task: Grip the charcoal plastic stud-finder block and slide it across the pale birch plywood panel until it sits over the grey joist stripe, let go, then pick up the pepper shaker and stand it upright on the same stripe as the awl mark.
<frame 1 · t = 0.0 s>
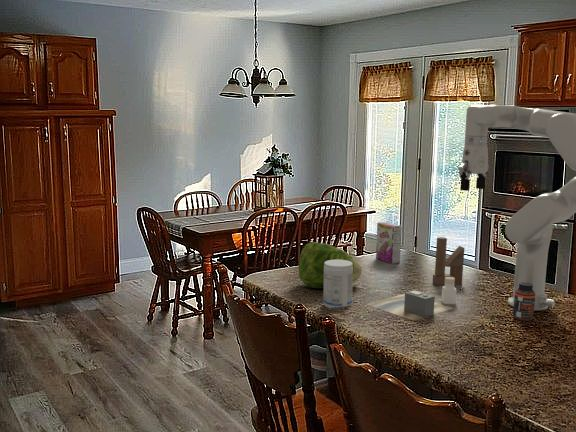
hand: (472, 189, 208), 37 cm above the kitchen island, tool pointing down, fingers open, 9 cm apart
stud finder: (418, 312, 182), point 1 cm above the kitchen island, touching plywood panel
supplement bottle: (522, 319, 182), on the kitchen island
wooden block: (447, 284, 220), on the kitchen island
supplement tub: (337, 306, 192), on the kitchen island
lettuce: (330, 287, 214), on the kitchen island
pepper shaker: (448, 306, 194), on the kitchen island
candy bar box: (387, 261, 255), on the kitchen island
plywood panel: (409, 309, 189), on the kitchen island
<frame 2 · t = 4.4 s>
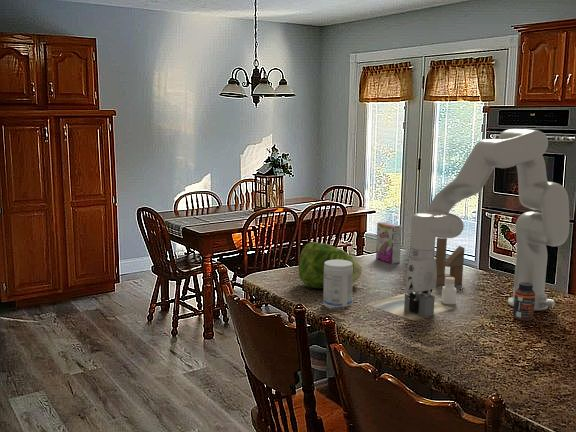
hand: (418, 309, 182), 2 cm above the kitchen island, tool pointing down, fingers closed on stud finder, 4 cm apart
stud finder: (418, 312, 182), point 1 cm above the kitchen island, touching gripper, plywood panel
everything else where it was.
when the fingers open (2 cm above the kitchen island, at t = 7.3 s): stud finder stays where it is, resting on plywood panel.
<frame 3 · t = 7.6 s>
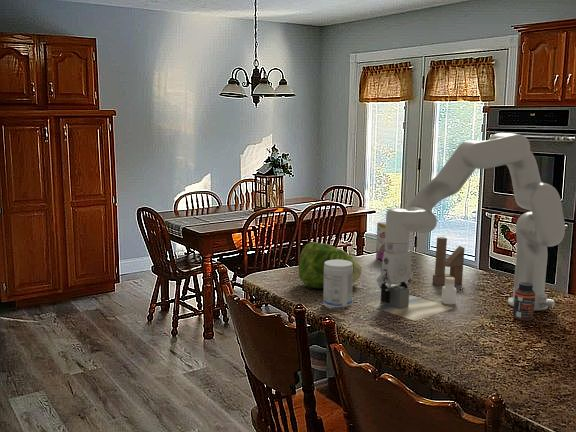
hand: (394, 299, 190), 3 cm above the kitchen island, tool pointing down, fingers open, 8 cm apart
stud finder: (394, 304, 190), point 1 cm above the kitchen island, touching plywood panel
everything else where it was.
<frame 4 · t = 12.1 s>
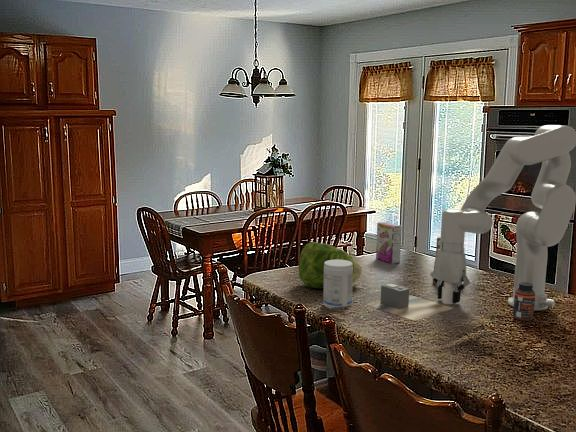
hand: (448, 299, 194), 2 cm above the kitchen island, tool pointing down, fingers closed on pepper shaker, 5 cm apart
pepper shaker: (448, 306, 194), on the kitchen island, touching gripper
everything else where it was.
when the fingers open (4 cm above the kitchen island, at t = 16.8 s): pepper shaker drops 1 cm, resting on plywood panel.
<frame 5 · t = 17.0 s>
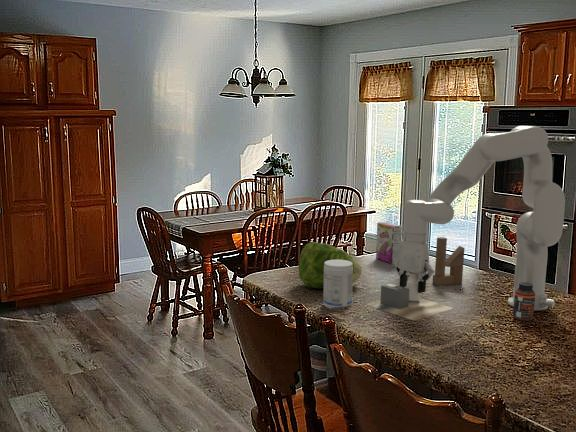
hand: (412, 289, 195), 5 cm above the kitchen island, tool pointing down, fingers open, 7 cm apart
pepper shaker: (412, 300, 195), point 1 cm above the kitchen island, touching plywood panel
everything else where it was.
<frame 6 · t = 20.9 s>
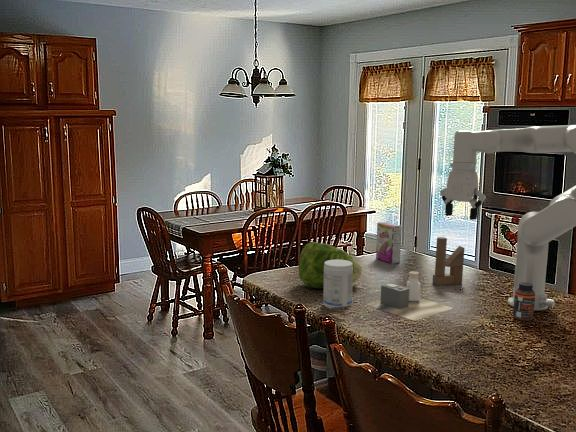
hand: (460, 217, 199), 28 cm above the kitchen island, tool pointing down, fingers open, 9 cm apart
nothing on the kitchen island moved.
at the end: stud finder inside the target area on the plywood panel (2.9 cm from its centre), point 1.2 cm above the plywood panel's base; pepper shaker inside the target area on the plywood panel (1.6 cm from its centre), point 1.0 cm above the plywood panel's base; pepper shaker tilted 0° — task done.
